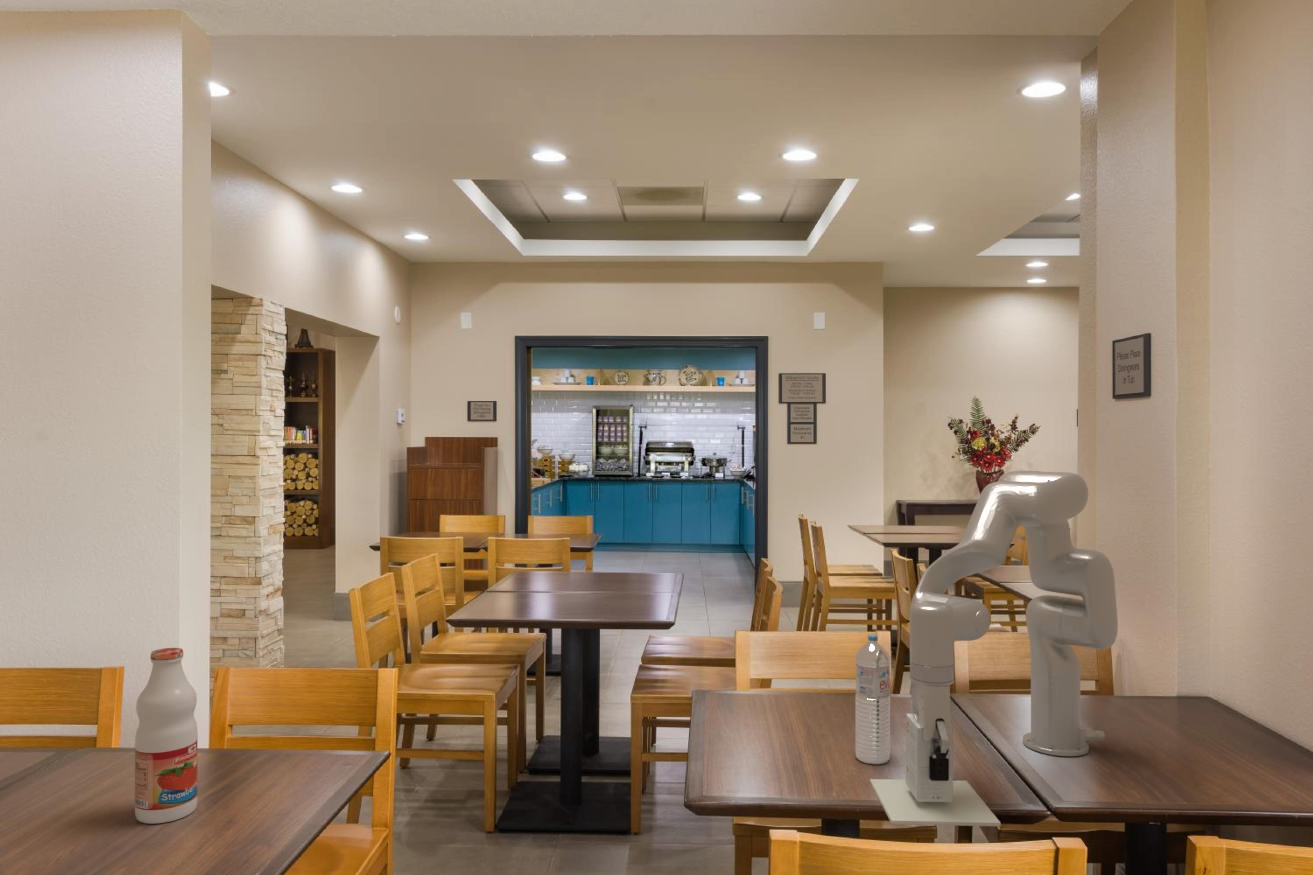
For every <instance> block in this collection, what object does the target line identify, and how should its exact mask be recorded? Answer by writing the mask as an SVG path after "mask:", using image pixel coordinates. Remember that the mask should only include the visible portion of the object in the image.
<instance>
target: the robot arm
mask: <svg viewBox="0 0 1313 875" xmlns="http://www.w3.org/2000/svg"><path fill="white" fill-rule="evenodd" d="M1088 499H1089V488H1088V485H1087V483H1086V481H1085V479H1084V478H1083V477H1082V476H1080V475H1079V474H1077V473H1074V472H1065V471H1064V472H1063V471H1061V472H1060V471H1039V470H1038V471H1036V470H1014V471H1008V472H1005V473H1003V474H1001V476H1000V477H998V480H997V481H993V482H990V483H989V484H987V485H986V486H985V487H984V488H983V489H982V491H981V492H980V495H979V497H978V499H977V502H976V505H975V507H974V508H973V511H972V513H971V517H970V518H969V521H968V524H967V527H966V528H965V530H964V533H963V535H962V539H961V540H960V542H959V543H958V544H957V545H955V546H953V547H952V548H951V549H948V551H945V552H944V553H943V554H942V555H940V556H939V557H938V558H937V559H936V560H934V561H933V562H932V563H931V564H930V565H929V566H928V567H927V569H925V571H924V572H923V573H922V576H921V577H920V579H919V582H918V584H917V587H916V589H915V591H914V593H913V596H912V600H911V601H910V602H911V603H910V607H909V680H910V681H911V682H912V684H911V691H910V692H911V695H910V696H911V697H910V713H911V714H912V716H913V717H914V718H915V720H916V721H917V722H918V724H919V725H920V726H921V727H922V728H923V730H922V740H923V741H924V742H927V741H930V750H931V757H929V778H930V780H931V781H948V780H949V752H948V751H949V750H948V749H949V748H948V746H949V741H950V739H951V727H952V709H951V707H952V706H951V705H952V704H951V692H950V686H951V685H953V684H954V683H955V642H971V641H977V640H980V639H981V638H982V637H983V636H985V635H986V633H987V632H988V631H989V629H990V626H991V619H992V617H991V613H990V611H989V609H988V608H987V606H986V605H985V604H984V603H983V602H981V601H979V600H976V599H974V598H968V597H961V596H956V595H952V594H946V592H947V590H948V589H949V588H950V587H951V586H952V585H953V584H955V583H956V582H958V581H959V580H961V579H963V578H966V577H969V576H972V575H975V574H980V573H981V572H982V573H983V572H986V571H989V570H991V569H994V568H997V567H999V566H1001V565H1002V564H1003V563H1005V560H1006V558H1007V556H1008V553H1009V550H1010V548H1011V545H1012V542H1013V540H1014V537H1015V535H1016V532H1017V530H1018V528H1019V527H1024V531H1025V532H1024V533H1025V538H1026V549H1027V560H1028V568H1029V575H1030V576H1029V577H1030V580H1031V583H1032V584H1033V586H1034V587H1036V588H1037V589H1040V590H1042V591H1046V592H1050V593H1056V594H1064V595H1072V596H1079V597H1081V598H1082V599H1079V598H1073V597H1067V596H1059V595H1052V594H1047V595H1046V594H1044V595H1039V596H1036V597H1034V598H1032V599H1031V600H1030V601H1029V603H1028V604H1027V606H1026V610H1025V623H1026V628H1027V634H1028V638H1029V647H1030V732H1028V733H1025V734H1024V735H1023V736H1022V743H1023V745H1025V747H1027V748H1029V749H1030V750H1033V751H1036V752H1038V753H1042V754H1046V755H1050V756H1058V757H1079V756H1084V755H1086V754H1087V753H1088V752H1089V743H1087V742H1090V740H1091V741H1093V740H1094V741H1105V740H1106V735H1105V732H1104V730H1093V729H1092V728H1093V727H1092V728H1091V727H1083V726H1081V663H1080V660H1079V657H1078V655H1077V653H1076V652H1075V650H1074V649H1073V646H1075V647H1081V648H1086V649H1091V650H1092V649H1093V650H1107V649H1109V648H1111V647H1112V646H1113V645H1114V644H1115V642H1116V640H1117V638H1118V631H1119V630H1118V629H1119V626H1118V624H1119V622H1118V620H1119V619H1118V609H1117V596H1116V594H1117V593H1116V582H1115V573H1114V568H1113V565H1112V563H1111V561H1110V559H1109V557H1107V556H1106V554H1104V553H1102V552H1101V551H1097V550H1093V549H1085V548H1076V547H1074V546H1073V543H1072V537H1071V536H1072V535H1071V529H1070V528H1071V527H1070V523H1069V520H1070V519H1072V518H1074V517H1076V516H1078V515H1079V514H1081V513H1082V511H1084V509H1085V507H1086V505H1087V503H1088ZM935 730H937V733H938V737H939V739H933V738H932V737H933V735H934V732H935ZM934 743H939V746H937V747H936V750H935V745H934Z"/></svg>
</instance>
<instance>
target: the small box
mask: <svg viewBox="0 0 1313 875" xmlns="http://www.w3.org/2000/svg"><path fill="white" fill-rule="evenodd" d="M905 723H906V724H905V780H906V785H907V786H908V788H909V789H910V791H911V792H912V794H913V795H914V797H915V799H916V800H917V801H918V802H953V781H954V728H953V726H951V739H950V741H949V746H948V748H949V749H948V750H949V751H948V752H949V780H948V781H931V780H930V778H929V757H931V750H930V741H927V742H924V741H923V740H922V730H923V728H922V727H921V726H920V725H919V724H918V722H917V721H916V720H915V718H914V717H913V716H912V714H911V712H910V713H906V719H905ZM932 738H933V739H939V737H938V733H937V730H935V732H934V735H933V737H932ZM934 745H935V750H936V747H937V746H939V743H934Z"/></svg>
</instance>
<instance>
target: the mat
mask: <svg viewBox="0 0 1313 875" xmlns="http://www.w3.org/2000/svg"><path fill="white" fill-rule="evenodd" d="M870 783H871V784H870ZM869 784H870V785H871V787H872V790H873V791H874V794H875V795H876V797H877V799H878V801H879V802H880V804H881V806H882V808H883V810H884V812H885V814H886V816H887V817H888V820H889V822H890V823H891V825H902V826H903V825H909V826H912V825H913V826H917V825H918V826H921V825H922V826H962V827H966V826H968V827H1001V826H1002V825H1001V824H1002V823H1001V821H1000V820H999V819H998V817H997V816H996V815H995V814H994V813H993V811H991V809H990V807H988V805H987V804H986V803H985V801H984V800H983V799H982V798H981V797H980V795H979V794H978V793H977V792H976V790H975V789H974V788H973V786H971V784H970V783H969V782H968V780H953V802H918V801H917V800H916V799H915V797H914V795H913V794H912V792H911V791H910V789H909V788H908V786H907V785H906V779H893V778H892V779H890V778H889V779H886V778H885V779H883V778H879V779H877V778H870V779H869Z"/></svg>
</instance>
